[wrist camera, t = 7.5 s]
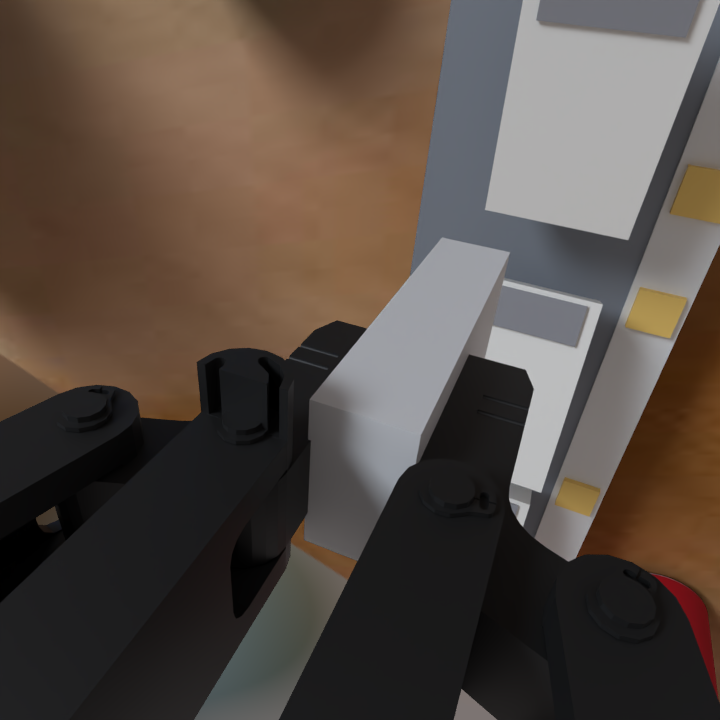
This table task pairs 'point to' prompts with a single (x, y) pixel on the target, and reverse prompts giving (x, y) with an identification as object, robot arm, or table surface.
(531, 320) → the block
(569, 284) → the switch unit
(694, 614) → the beverage can
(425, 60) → the table surface
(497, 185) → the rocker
